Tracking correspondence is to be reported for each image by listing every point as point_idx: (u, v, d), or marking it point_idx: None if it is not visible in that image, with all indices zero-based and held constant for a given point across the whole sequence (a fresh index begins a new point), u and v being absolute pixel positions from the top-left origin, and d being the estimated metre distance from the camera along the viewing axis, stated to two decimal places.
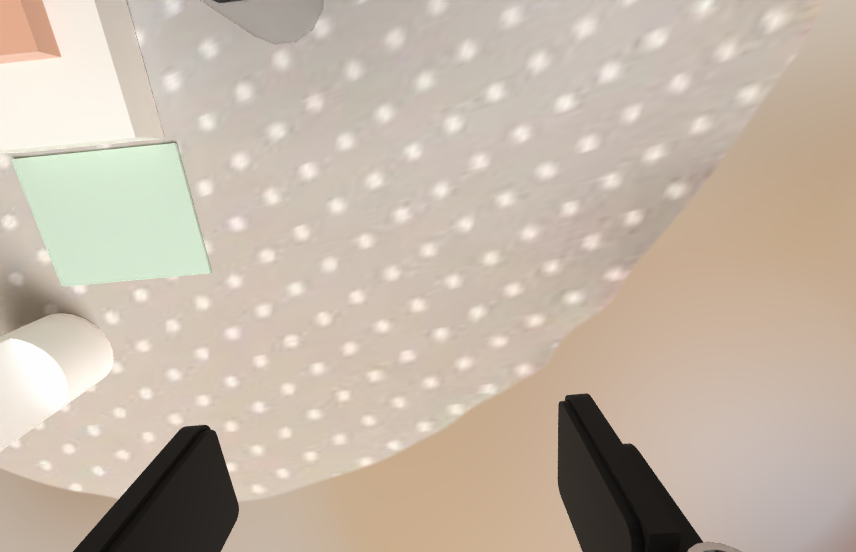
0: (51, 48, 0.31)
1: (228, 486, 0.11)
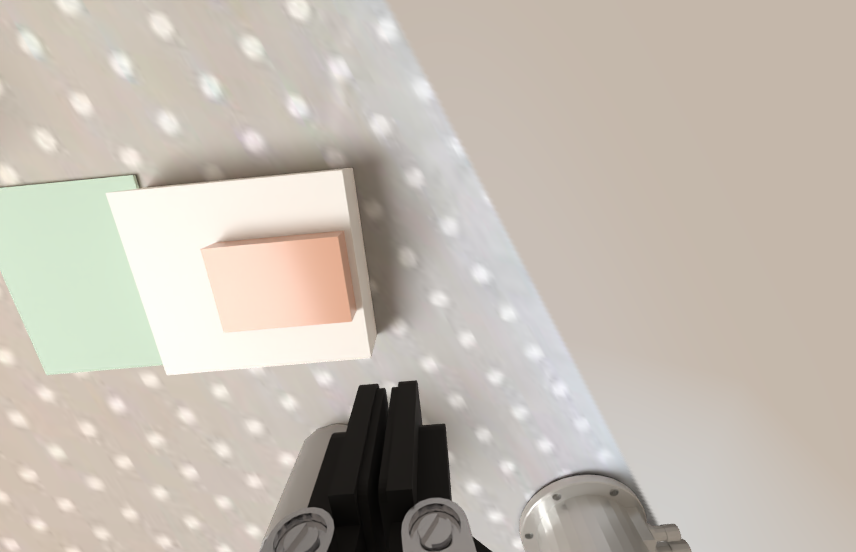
0: None
1: None
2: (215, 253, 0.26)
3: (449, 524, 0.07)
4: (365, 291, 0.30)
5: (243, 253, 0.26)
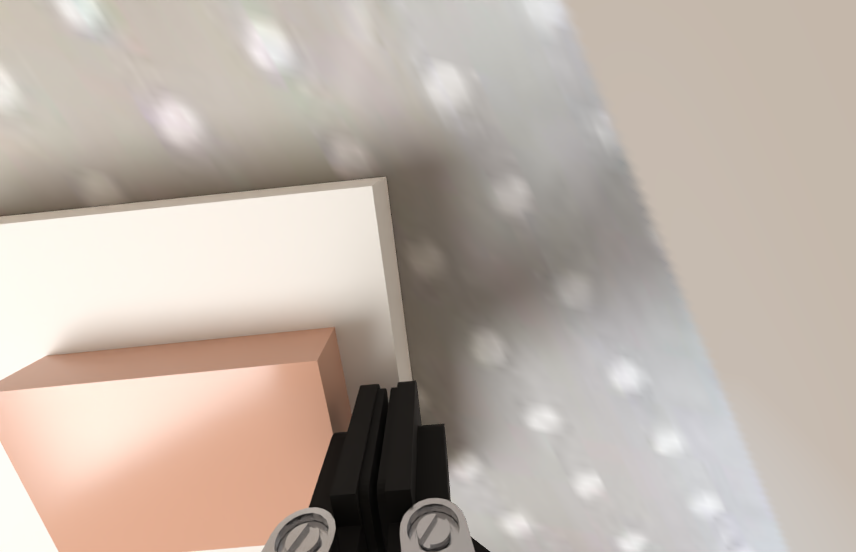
0: None
1: None
2: (14, 403, 0.10)
3: (447, 524, 0.07)
4: None
5: (85, 402, 0.10)
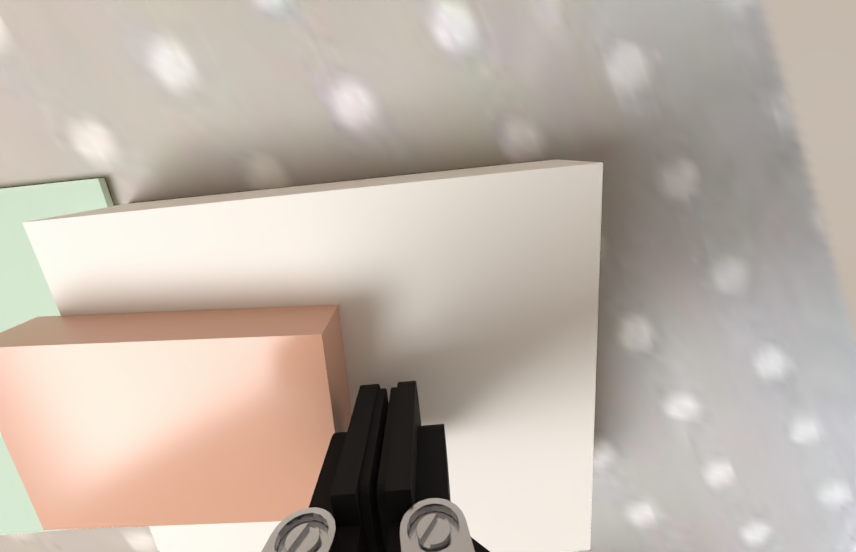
0: None
1: None
2: (3, 360, 0.10)
3: (447, 524, 0.07)
4: None
5: (78, 364, 0.10)
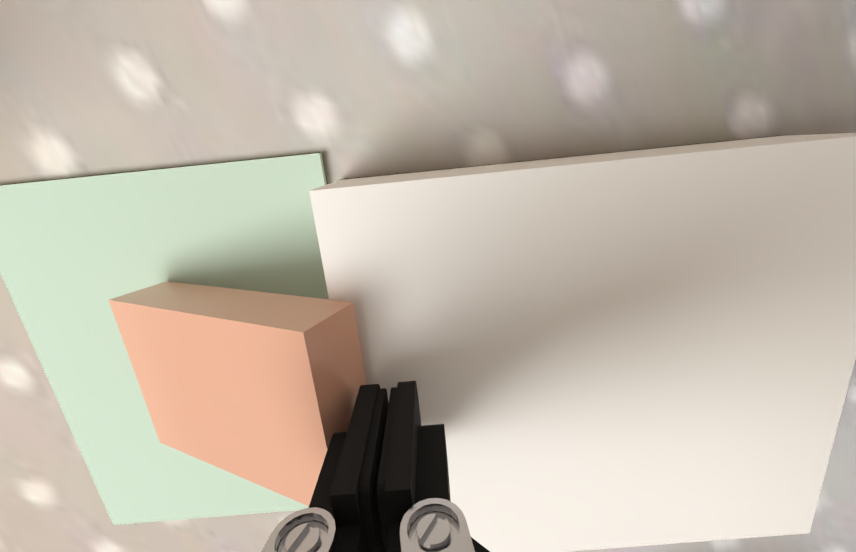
0: None
1: None
2: (125, 312, 0.13)
3: (447, 524, 0.07)
4: None
5: (159, 323, 0.13)
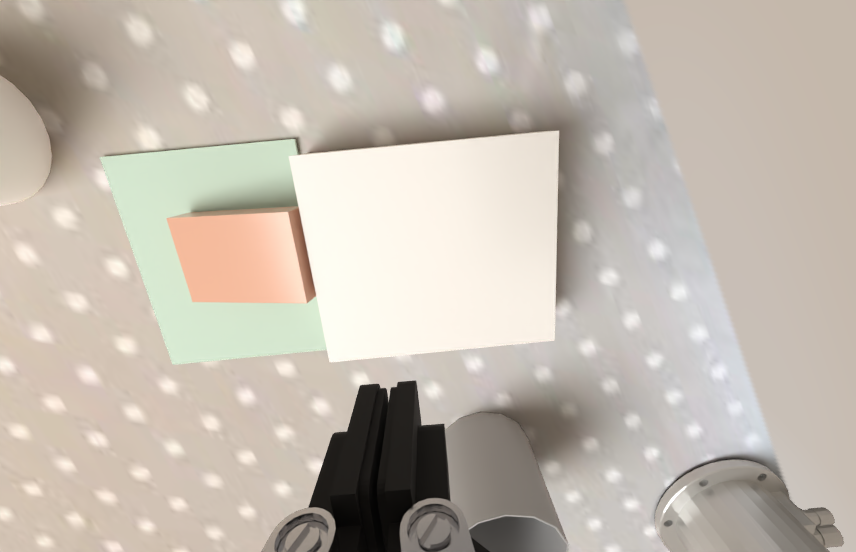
0: None
1: None
2: (179, 223, 0.26)
3: (447, 524, 0.07)
4: None
5: (203, 225, 0.25)
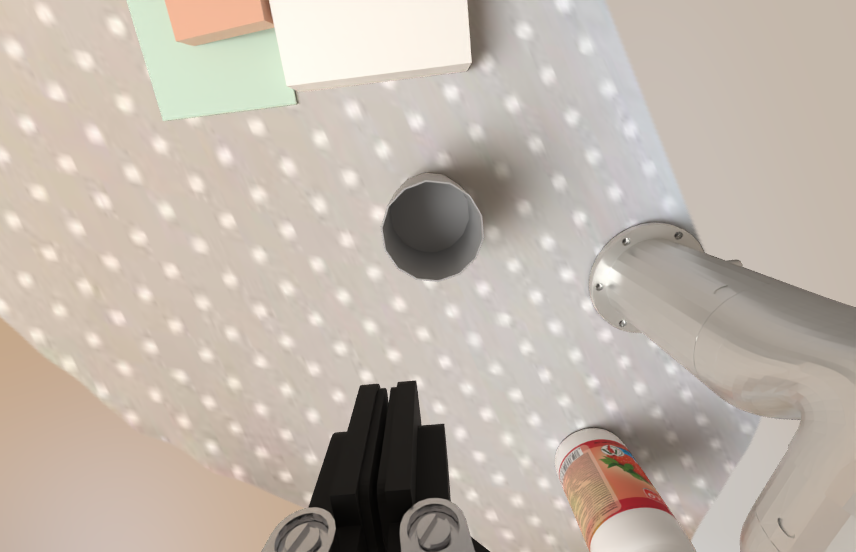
0: (192, 43, 0.35)
1: None
2: None
3: (447, 524, 0.07)
4: None
5: None
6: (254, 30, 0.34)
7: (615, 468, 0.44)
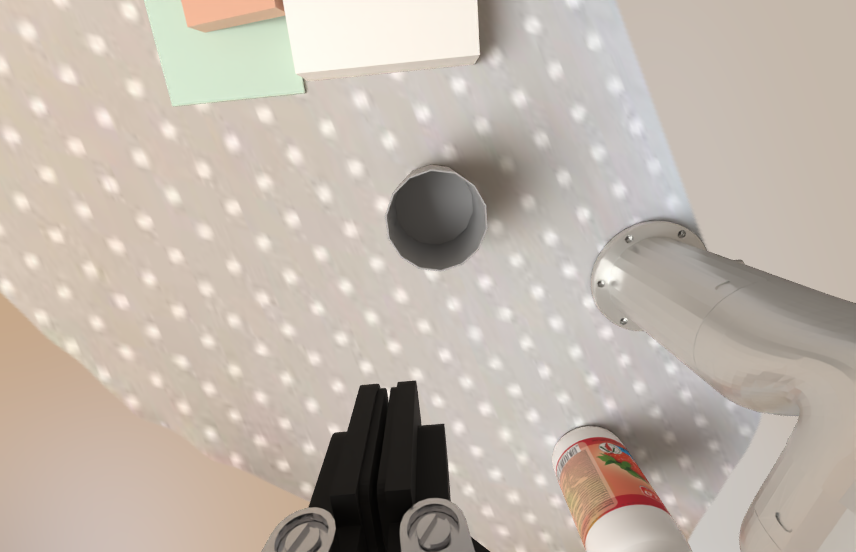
0: (203, 29, 0.36)
1: None
2: None
3: (447, 524, 0.07)
4: None
5: None
6: (265, 17, 0.34)
7: (612, 465, 0.44)
